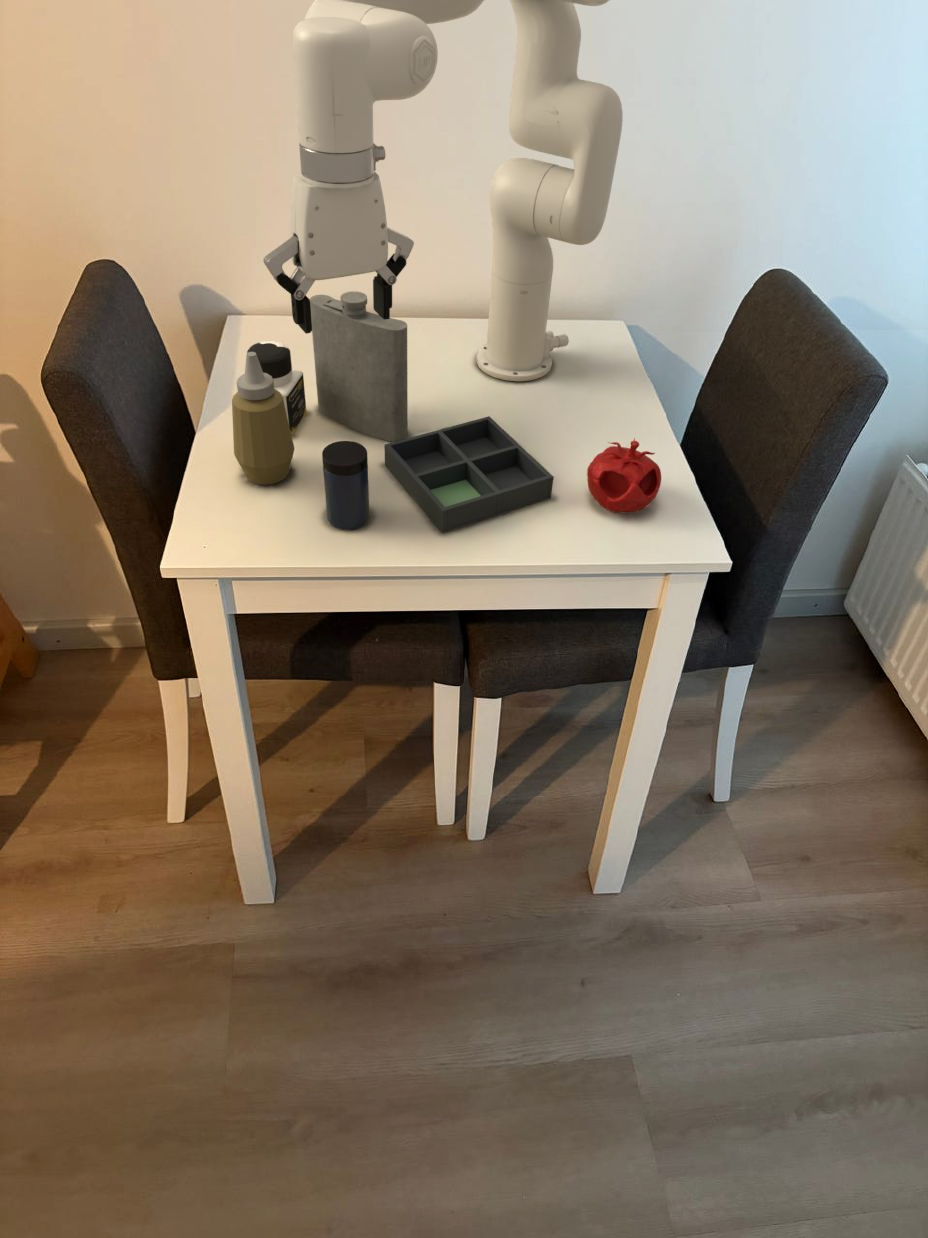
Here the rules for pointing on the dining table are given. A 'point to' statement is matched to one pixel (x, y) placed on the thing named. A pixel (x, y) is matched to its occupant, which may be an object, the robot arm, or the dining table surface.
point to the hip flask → (360, 366)
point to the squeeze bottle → (260, 426)
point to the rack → (467, 473)
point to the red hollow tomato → (623, 478)
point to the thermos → (346, 484)
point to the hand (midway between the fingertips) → (343, 321)
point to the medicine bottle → (283, 378)
